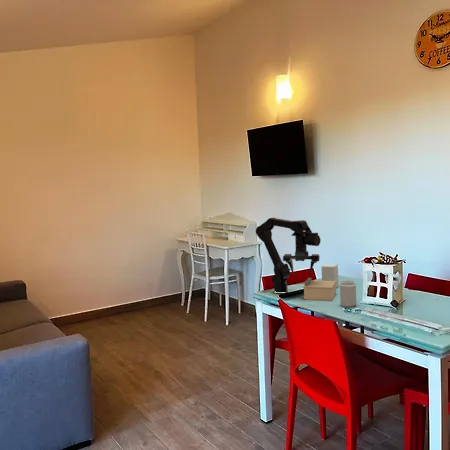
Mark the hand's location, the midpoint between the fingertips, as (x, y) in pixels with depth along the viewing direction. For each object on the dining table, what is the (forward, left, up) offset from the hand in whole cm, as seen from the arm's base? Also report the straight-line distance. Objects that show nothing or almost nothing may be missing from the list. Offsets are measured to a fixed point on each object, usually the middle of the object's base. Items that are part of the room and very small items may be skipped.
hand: (301, 273), depth 253 cm
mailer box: (+10, -1, -12) cm, 15 cm away
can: (+26, -15, -12) cm, 32 cm away
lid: (+10, -1, -6) cm, 11 cm away
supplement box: (+12, +20, -12) cm, 26 cm away
